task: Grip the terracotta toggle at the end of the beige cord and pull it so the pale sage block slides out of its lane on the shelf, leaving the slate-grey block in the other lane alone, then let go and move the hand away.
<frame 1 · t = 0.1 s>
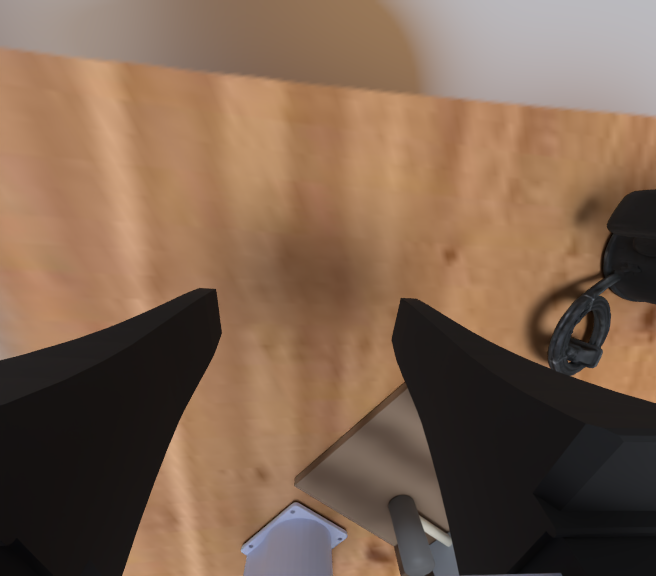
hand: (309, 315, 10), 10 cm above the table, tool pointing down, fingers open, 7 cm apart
milk frother: (610, 284, 22), on the table
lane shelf: (450, 486, 28), on the table
slate block: (448, 557, 27), point 3 cm above the table, slide at 0.0 cm
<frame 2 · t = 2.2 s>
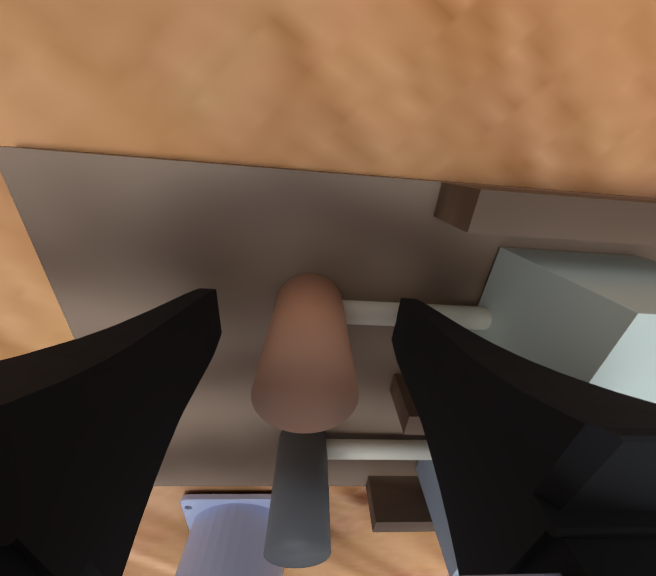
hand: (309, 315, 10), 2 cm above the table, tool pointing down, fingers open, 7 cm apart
sage block: (475, 345, 9), point 3 cm above the table, slide at 0.0 cm, touching gripper
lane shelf: (370, 370, 14), on the table
slate block: (417, 486, 13), point 3 cm above the table, slide at 0.0 cm
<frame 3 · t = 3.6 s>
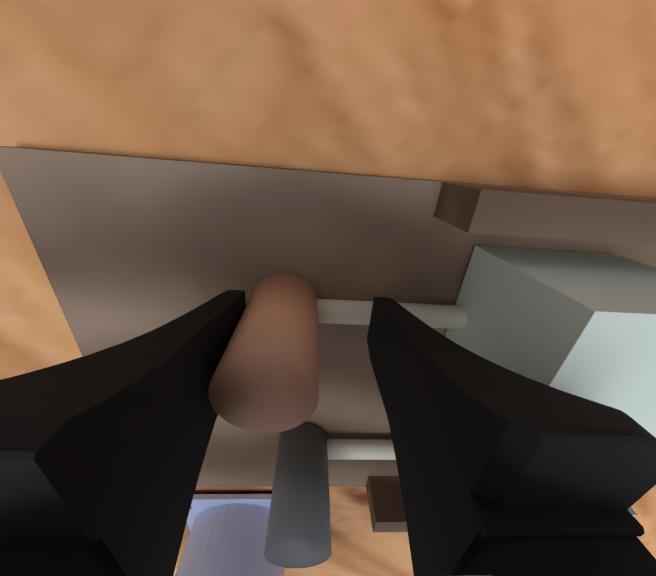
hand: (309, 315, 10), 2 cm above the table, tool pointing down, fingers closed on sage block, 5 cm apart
sage block: (447, 344, 9), point 3 cm above the table, slide at 1.1 cm, touching gripper
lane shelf: (370, 370, 14), on the table
slate block: (418, 486, 13), point 3 cm above the table, slide at 0.0 cm
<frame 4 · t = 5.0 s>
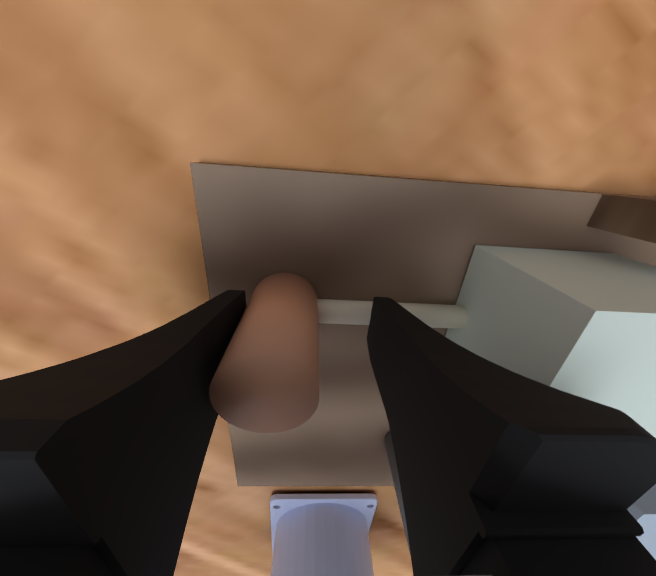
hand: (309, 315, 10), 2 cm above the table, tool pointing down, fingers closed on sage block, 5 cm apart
sage block: (447, 344, 9), point 3 cm above the table, slide at 7.3 cm, touching gripper
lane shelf: (479, 373, 15), on the table
slate block: (532, 485, 14), point 3 cm above the table, slide at 0.0 cm
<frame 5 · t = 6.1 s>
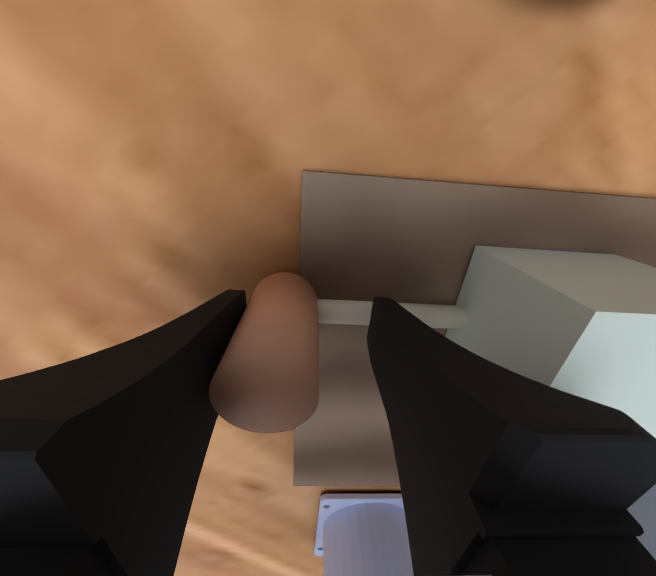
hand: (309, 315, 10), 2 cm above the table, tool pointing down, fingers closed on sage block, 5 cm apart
sage block: (447, 344, 9), point 3 cm above the table, slide at 11.0 cm, touching gripper
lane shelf: (541, 375, 15), on the table
slate block: (596, 486, 14), point 3 cm above the table, slide at 0.0 cm
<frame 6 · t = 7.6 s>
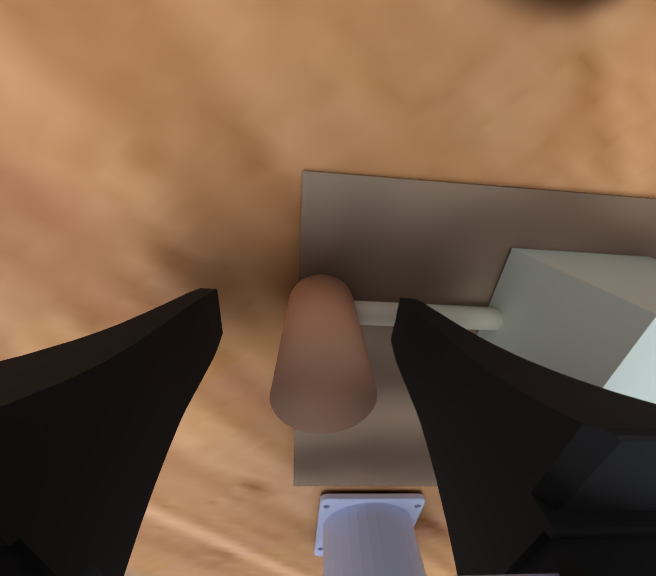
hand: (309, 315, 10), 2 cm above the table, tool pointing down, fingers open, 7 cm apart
sage block: (488, 345, 9), point 3 cm above the table, slide at 9.5 cm, touching gripper
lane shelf: (541, 375, 15), on the table
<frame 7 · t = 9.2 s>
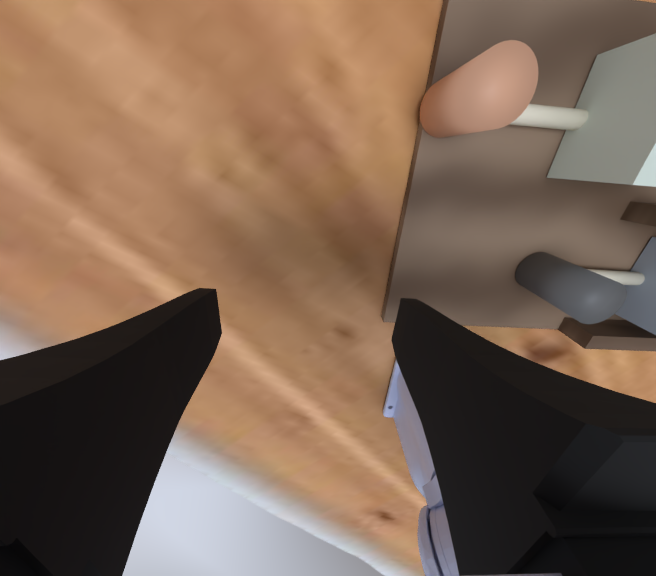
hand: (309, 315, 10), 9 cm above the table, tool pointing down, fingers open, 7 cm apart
sage block: (586, 112, 13), point 3 cm above the table, slide at 9.5 cm
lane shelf: (599, 207, 18), on the table
slate block: (647, 289, 17), point 3 cm above the table, slide at 0.0 cm
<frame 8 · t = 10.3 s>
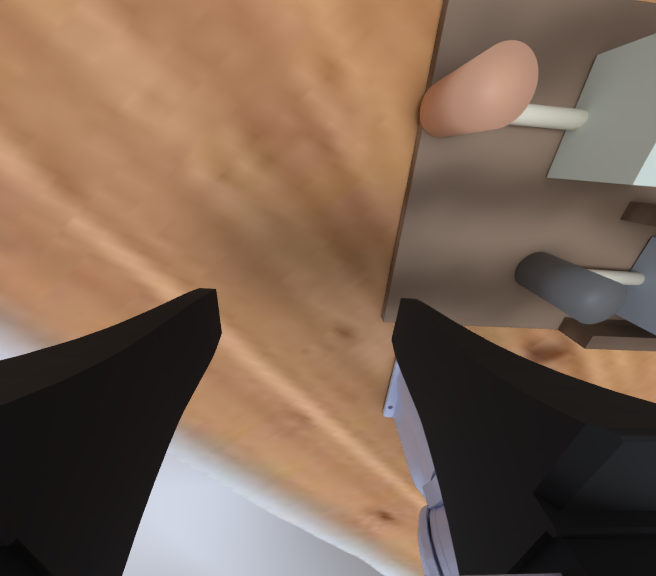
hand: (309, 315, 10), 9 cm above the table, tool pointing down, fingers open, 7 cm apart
sage block: (586, 112, 13), point 3 cm above the table, slide at 9.5 cm
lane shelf: (599, 207, 18), on the table
slate block: (647, 289, 17), point 3 cm above the table, slide at 0.0 cm
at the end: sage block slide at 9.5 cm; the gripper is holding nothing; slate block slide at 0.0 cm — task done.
